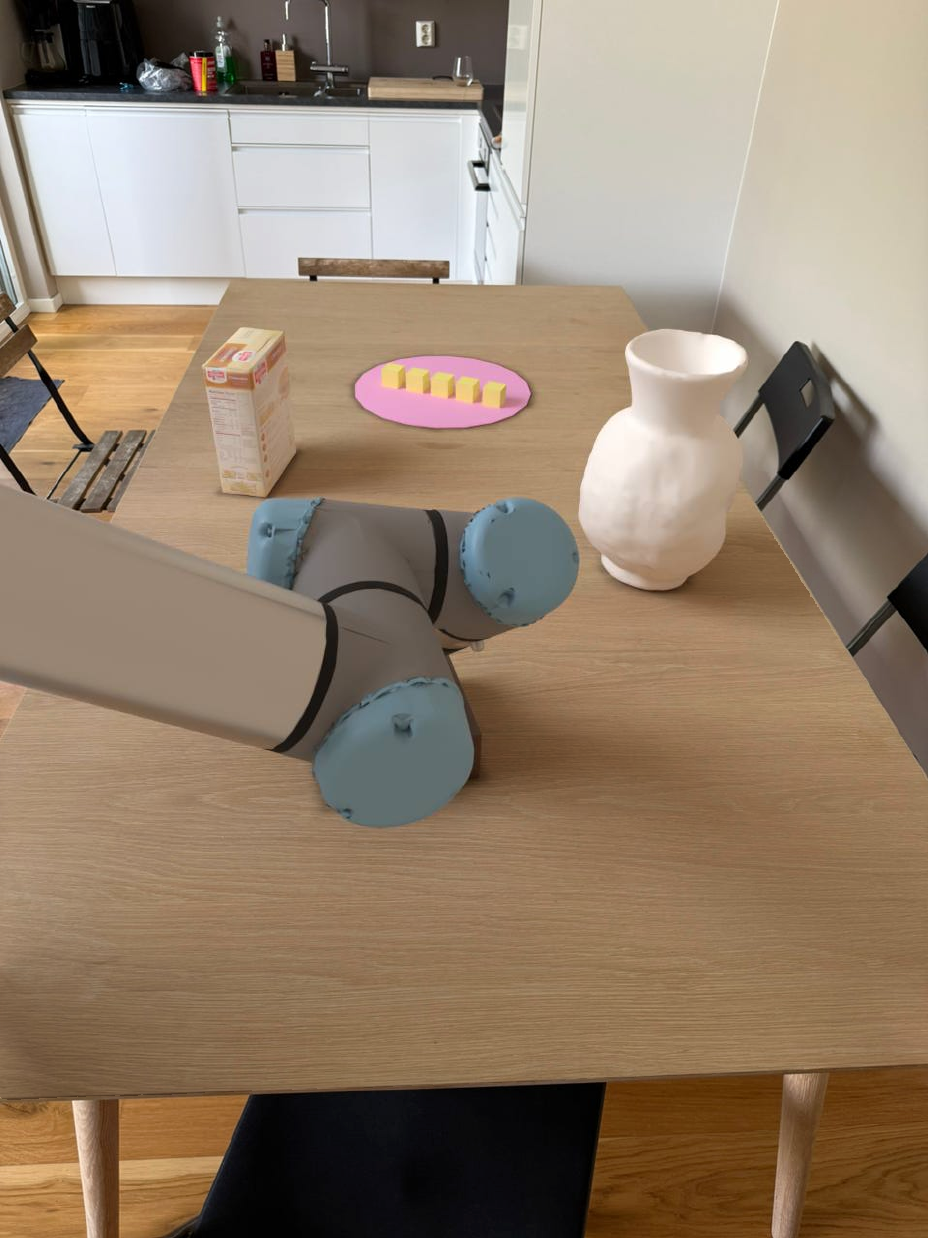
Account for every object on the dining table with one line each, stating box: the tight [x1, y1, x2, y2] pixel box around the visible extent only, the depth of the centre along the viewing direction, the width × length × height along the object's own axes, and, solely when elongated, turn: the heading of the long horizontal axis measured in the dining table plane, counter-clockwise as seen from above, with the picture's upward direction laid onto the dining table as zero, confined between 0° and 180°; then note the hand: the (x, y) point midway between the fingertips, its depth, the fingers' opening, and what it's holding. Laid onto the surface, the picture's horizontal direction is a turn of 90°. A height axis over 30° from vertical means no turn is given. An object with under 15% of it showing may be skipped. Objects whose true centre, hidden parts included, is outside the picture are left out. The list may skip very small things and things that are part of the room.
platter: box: [354, 355, 532, 429], centre depth 161 cm, size 32×32×3 cm
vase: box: [577, 328, 749, 591], centre depth 108 cm, size 19×21×30 cm
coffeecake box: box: [201, 326, 297, 498], centre depth 129 cm, size 15×7×20 cm, turn 171°
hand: (374, 643), depth 87 cm, fingers closed on coffee cup, 9 cm apart
